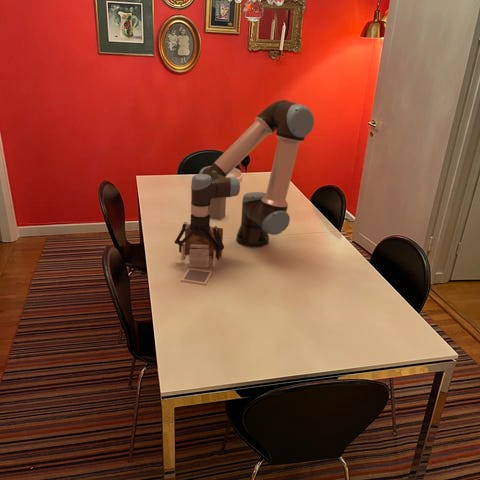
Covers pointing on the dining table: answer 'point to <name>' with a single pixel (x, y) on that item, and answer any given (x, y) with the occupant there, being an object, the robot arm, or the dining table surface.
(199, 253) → the box
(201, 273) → the picture frame
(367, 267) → the dining table surface
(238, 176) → the pale pink ring
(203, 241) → the wooden board with stops
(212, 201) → the perfume bottle
